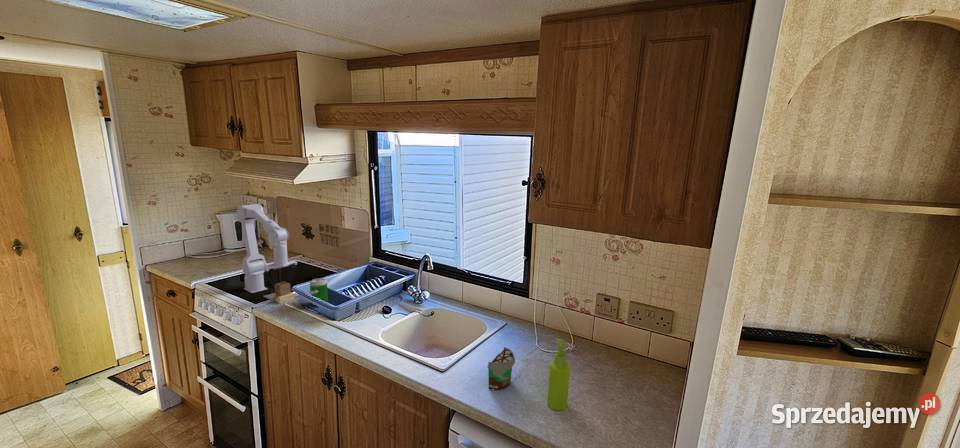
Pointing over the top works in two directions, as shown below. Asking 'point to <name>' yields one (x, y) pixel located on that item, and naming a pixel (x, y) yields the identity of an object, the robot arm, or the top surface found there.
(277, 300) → the pedestal
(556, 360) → the soap dispenser
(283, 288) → the walnut cube
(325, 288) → the soda can
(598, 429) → the top surface
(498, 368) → the food container
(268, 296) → the rubber mat
